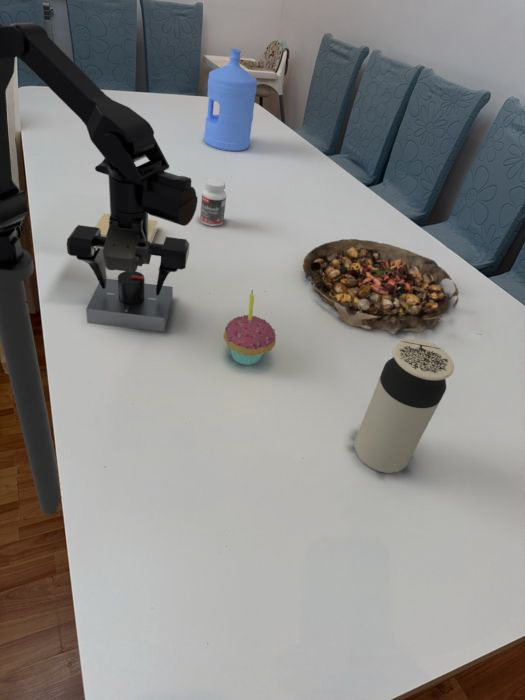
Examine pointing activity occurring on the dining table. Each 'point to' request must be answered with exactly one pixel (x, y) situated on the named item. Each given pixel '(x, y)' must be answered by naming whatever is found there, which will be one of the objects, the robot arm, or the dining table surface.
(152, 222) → the housing
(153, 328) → the panel
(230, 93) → the water jug
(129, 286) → the knob
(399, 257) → the food dish
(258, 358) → the cupcake
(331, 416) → the dining table surface
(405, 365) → the travel mug
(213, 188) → the pill bottle
